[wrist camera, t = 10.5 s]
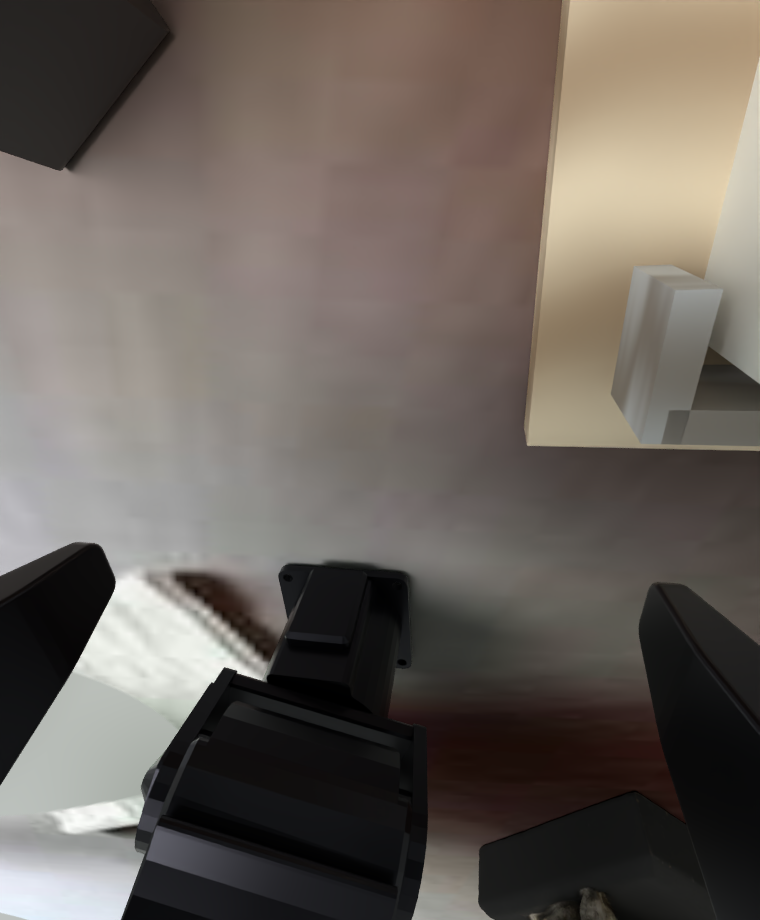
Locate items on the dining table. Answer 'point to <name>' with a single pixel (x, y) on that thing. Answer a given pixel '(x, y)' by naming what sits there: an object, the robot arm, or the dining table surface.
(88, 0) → the door stopper
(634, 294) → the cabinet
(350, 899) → the robot arm
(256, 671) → the dining table surface
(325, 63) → the dining table surface
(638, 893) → the coral
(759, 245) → the door
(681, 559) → the dining table surface
